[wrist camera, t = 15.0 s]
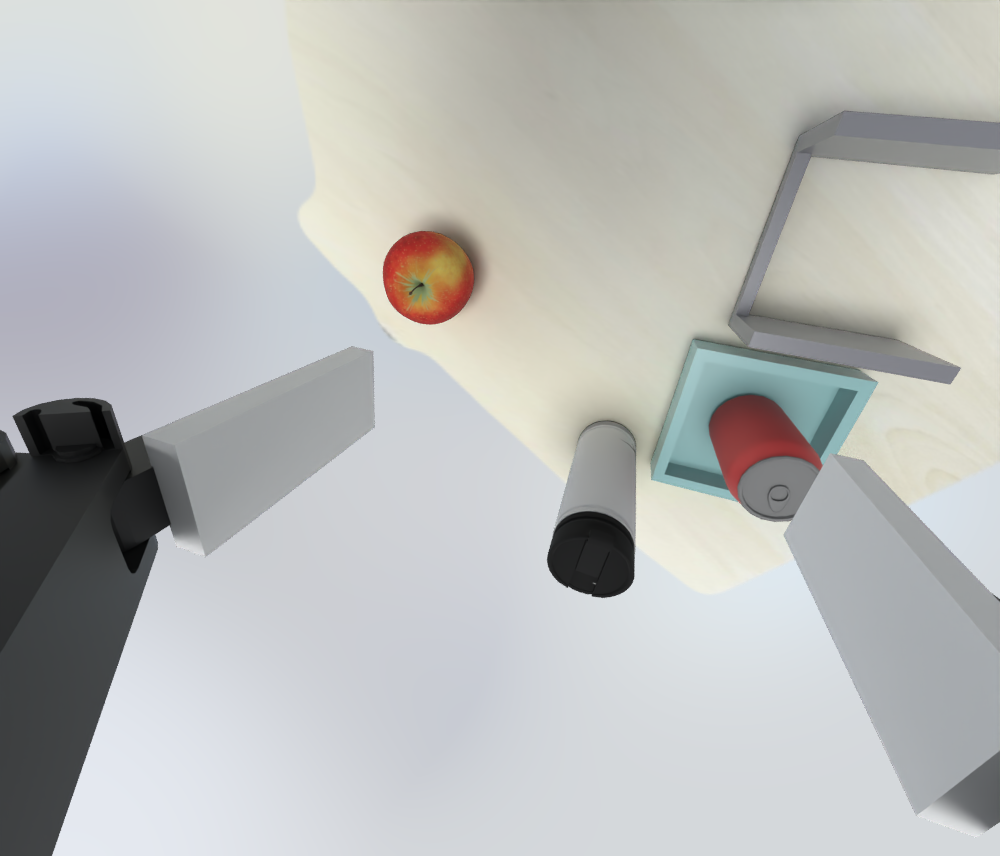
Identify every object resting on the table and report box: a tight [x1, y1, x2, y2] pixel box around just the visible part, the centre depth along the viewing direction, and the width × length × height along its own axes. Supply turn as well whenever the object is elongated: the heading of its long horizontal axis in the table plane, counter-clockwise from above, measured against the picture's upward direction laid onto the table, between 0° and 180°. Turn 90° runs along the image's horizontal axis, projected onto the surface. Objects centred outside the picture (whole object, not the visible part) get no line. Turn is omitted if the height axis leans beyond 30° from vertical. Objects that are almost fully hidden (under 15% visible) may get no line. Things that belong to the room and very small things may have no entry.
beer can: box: [709, 395, 823, 522], centre depth 36 cm, size 7×7×12 cm
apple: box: [383, 231, 474, 324], centre depth 39 cm, size 8×8×10 cm
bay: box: [728, 111, 1000, 384], centre depth 30 cm, size 14×13×8 cm
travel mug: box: [547, 421, 636, 598], centre depth 38 cm, size 6×7×20 cm
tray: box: [651, 339, 878, 502], centre depth 40 cm, size 14×14×3 cm
